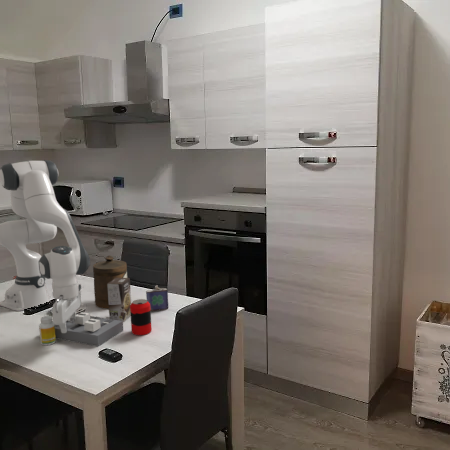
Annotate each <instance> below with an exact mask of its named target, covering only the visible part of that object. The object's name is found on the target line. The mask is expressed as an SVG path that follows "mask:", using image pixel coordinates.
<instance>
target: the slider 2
mask: <svg viewBox="0 0 450 450" xmlns="http://www.w3.org/2000/svg"><path fill="white" fill-rule="evenodd" d="M84 326H85V330H86V331H92V332H94V331H96V330H98V329H99V328H101V326H100V320H97V319H90V320H88V321H86V322H84Z"/></svg>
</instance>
